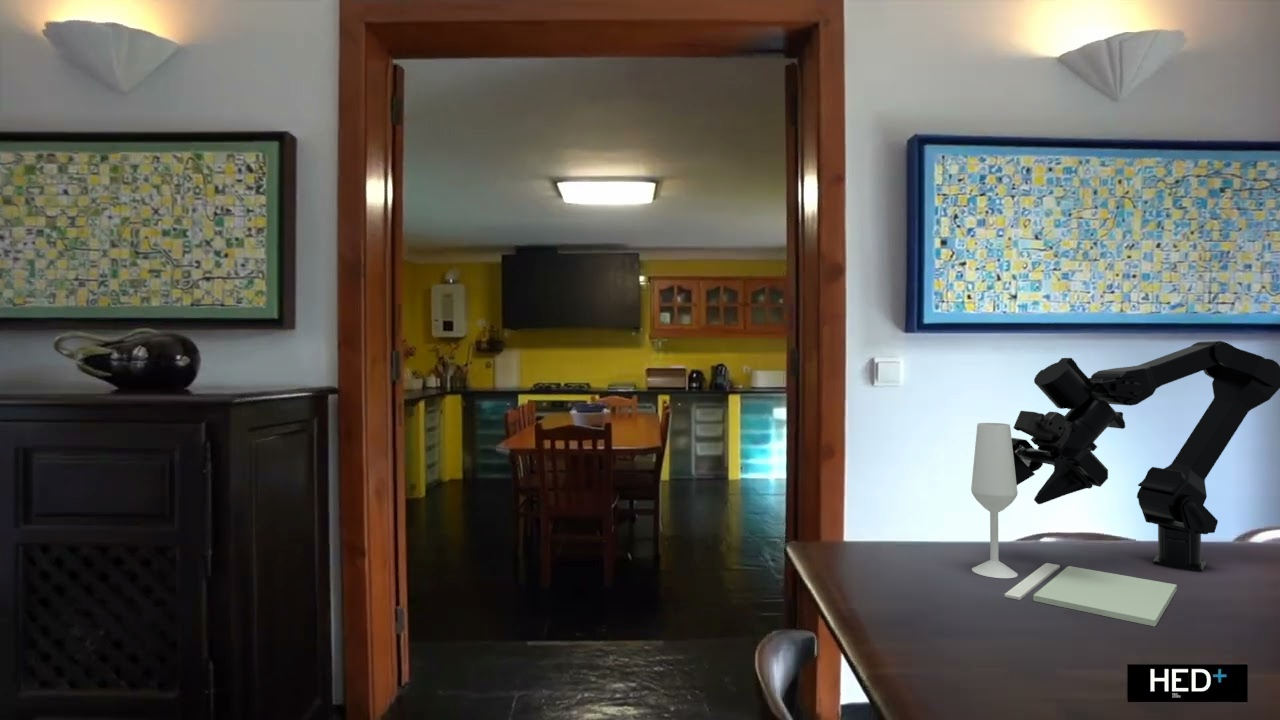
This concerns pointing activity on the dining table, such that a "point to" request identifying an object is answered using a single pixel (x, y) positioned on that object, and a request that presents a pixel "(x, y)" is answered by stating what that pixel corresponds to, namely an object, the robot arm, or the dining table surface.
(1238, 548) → the dining table surface
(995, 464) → the champagne flute
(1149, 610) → the pale green flat slabs
